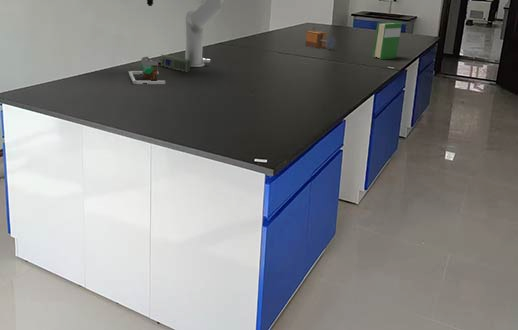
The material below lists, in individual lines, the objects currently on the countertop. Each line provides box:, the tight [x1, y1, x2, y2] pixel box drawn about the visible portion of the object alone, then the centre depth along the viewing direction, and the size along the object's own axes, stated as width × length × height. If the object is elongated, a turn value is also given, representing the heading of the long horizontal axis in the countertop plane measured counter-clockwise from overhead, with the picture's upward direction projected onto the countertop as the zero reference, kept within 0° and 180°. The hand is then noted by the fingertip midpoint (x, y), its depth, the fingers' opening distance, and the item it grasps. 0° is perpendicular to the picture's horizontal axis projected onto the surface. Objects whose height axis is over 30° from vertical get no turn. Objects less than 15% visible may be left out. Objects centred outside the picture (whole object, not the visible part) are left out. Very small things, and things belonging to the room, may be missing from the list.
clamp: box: [304, 26, 336, 50], centre depth 417 cm, size 11×20×14 cm, turn 47°
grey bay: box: [128, 70, 166, 85], centre depth 284 cm, size 15×22×2 cm
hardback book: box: [371, 21, 403, 60], centre depth 395 cm, size 18×7×24 cm, turn 130°
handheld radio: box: [158, 54, 191, 73], centre depth 312 cm, size 7×3×25 cm
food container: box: [140, 56, 159, 81], centre depth 283 cm, size 12×6×10 cm, turn 34°
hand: (150, 5), depth 306 cm, fingers closed
